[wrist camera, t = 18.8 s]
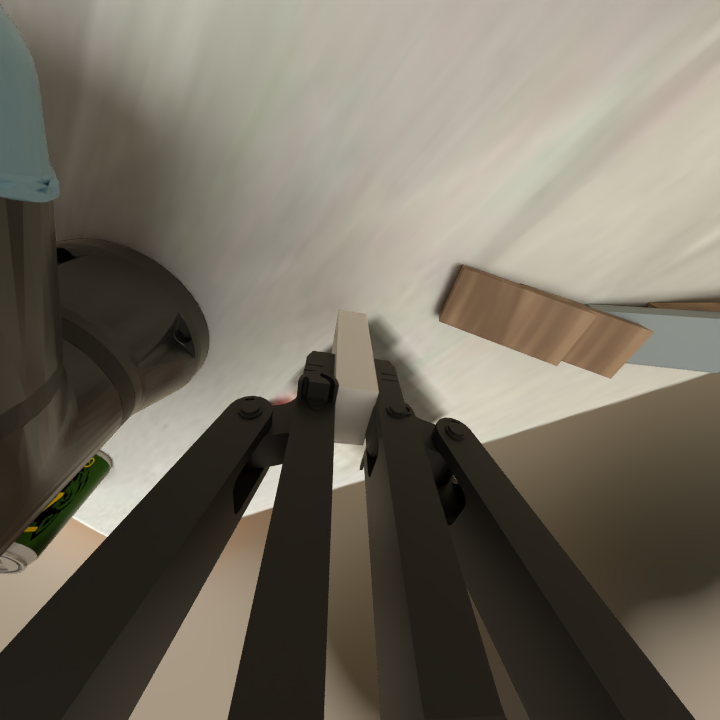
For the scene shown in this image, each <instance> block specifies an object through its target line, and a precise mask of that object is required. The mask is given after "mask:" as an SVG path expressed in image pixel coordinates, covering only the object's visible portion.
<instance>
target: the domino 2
mask: <svg viewBox="0 0 720 720" xmlns="http://www.w3.org/2000/svg"><path fill="white" fill-rule="evenodd" d="M520 285H522V286H525V287H528V288H531V289H534V290H536V291H539V292H542V293H545V294H548V295H550V296H553V297H556V298H559V299H562V300H565V301H567V302H570V303H573V304H576V305H579V306H581V307H584V308H587V309H588V310H590V311H591V312H593V313H594V314H596V315H597V316H596V317H595V319H594V320H593V321H592V322H591V324H590V325H589V326H588V327H587V329H586V330H585V331H584V332H583V334H582V335H581V336H580V338H579V339H578V340H577V341H576V343H575V344H574V345H573V346H572V348H571V349H570V350H569V351H568V353H567V354H566V355H565V356H564V358H563V359H562V360H561V361H564V362H566V363H569V364H572V365H575V366H577V367H580V368H583V369H586V370H588V371H591V372H594V373H597V374H600V375H602V376H605V377H608V378H612V377H613V376H614V375H615V373H616V372H617V371H618V370H619V369H620V368H621V367H622V366H623V365H624V364H625V363H626V362H627V361H628V359H629V358H630V357H631V356H632V355H633V354H634V353H635V352H636V351H637V350H638V349H639V348H640V347H641V346H642V344H643V343H644V342H645V341H646V340H647V339H648V338H649V337H650V336H651V335H652V334H653V333H654V332H653V331H651V330H649V329H648V328H646V327H644V326H642V325H640V324H638V323H635V322H632V321H629V320H626V319H623V318H620V317H617V316H614V315H612V314H609V313H606V312H603V311H600V310H597V309H594V308H591V307H588V306H585V305H582V304H579V303H576V302H573V301H571V300H568V299H565V298H562V297H559V296H556V295H553V294H550V293H547V292H544V291H541V290H538V289H535V288H532V287H530V286H527V285H524V284H520Z"/></svg>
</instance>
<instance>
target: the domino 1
mask: <svg viewBox="0 0 720 720" xmlns="http://www.w3.org/2000/svg"><path fill="white" fill-rule="evenodd" d="M596 316H597V315H596V314H594V313H593V312H591V311H590V310H588V309H587V308H584V307H581V306H579V305H576V304H573V303H570V302H567V301H565V300H562V299H559V298H556V297H553V296H550V295H548V294H545V293H542V292H539V291H536V290H534V289H531V288H528V287H525V286H522V285H519V284H517V283H514V282H511V281H508V280H505V279H503V278H500V277H497V276H494V275H491V274H488V273H486V272H483V271H480V270H477V269H474V268H472V267H469V266H466V265H463V266H462V268H461V270H460V272H459V274H458V276H457V279H456V281H455V283H454V285H453V287H452V289H451V291H450V293H449V296H448V298H447V300H446V302H445V304H444V306H443V308H442V310H441V313H440V315H439V321H440V322H442V323H445V324H448V325H450V326H453V327H455V328H458V329H461V330H463V331H466V332H469V333H471V334H474V335H477V336H479V337H482V338H484V339H487V340H490V341H492V342H495V343H498V344H500V345H503V346H506V347H508V348H511V349H513V350H516V351H519V352H521V353H524V354H527V355H529V356H532V357H535V358H537V359H540V360H542V361H545V362H548V363H550V364H553V365H556V366H557V365H558V364H559V363H560V361H561V360H562V359H563V358H564V356H565V355H566V354H567V353H568V351H569V350H570V349H571V348H572V346H573V345H574V344H575V343H576V341H577V340H578V339H579V338H580V336H581V335H582V334H583V332H584V331H585V330H586V329H587V327H588V326H589V325H590V324H591V322H592V321H593V320H594V319H595V317H596Z"/></svg>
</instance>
